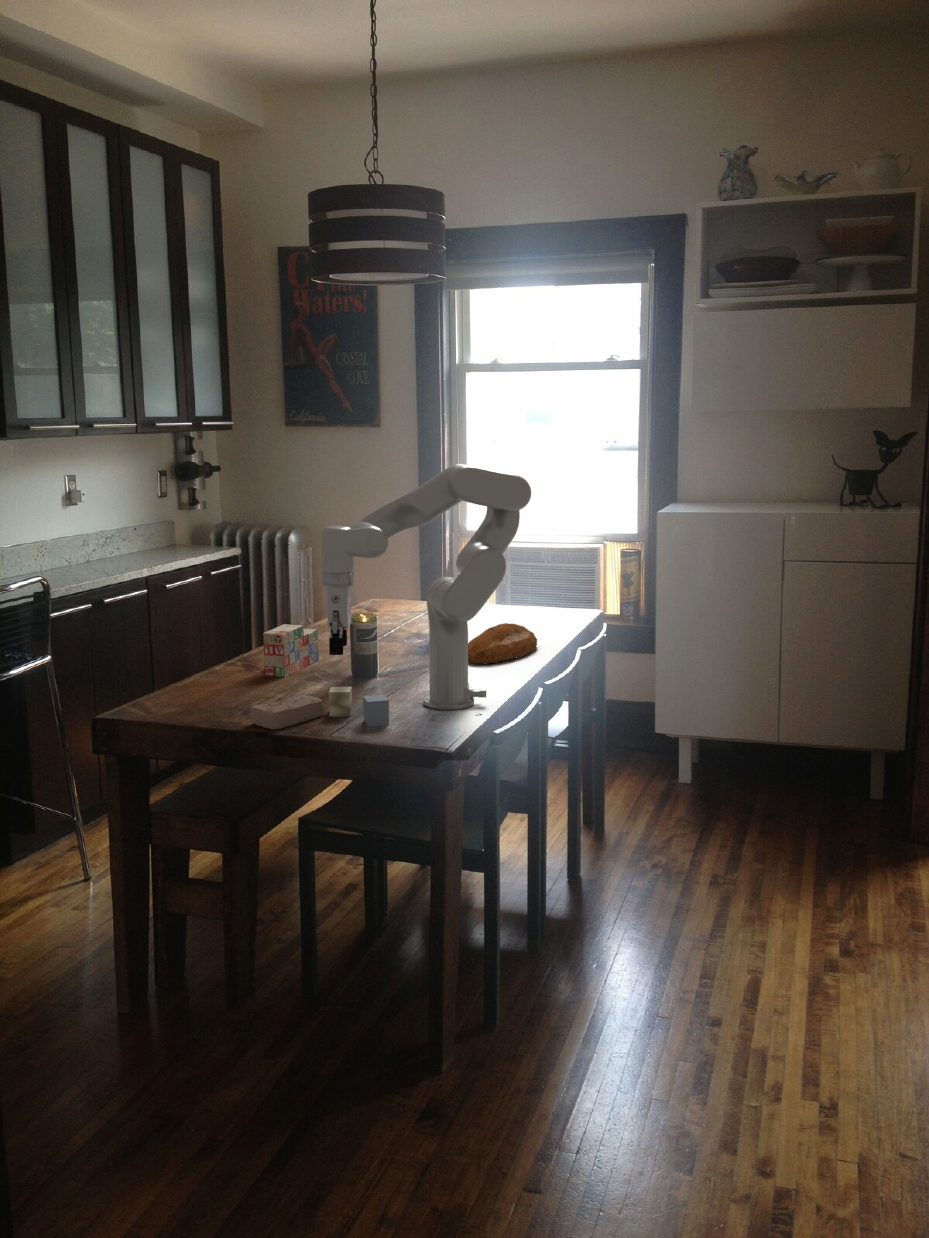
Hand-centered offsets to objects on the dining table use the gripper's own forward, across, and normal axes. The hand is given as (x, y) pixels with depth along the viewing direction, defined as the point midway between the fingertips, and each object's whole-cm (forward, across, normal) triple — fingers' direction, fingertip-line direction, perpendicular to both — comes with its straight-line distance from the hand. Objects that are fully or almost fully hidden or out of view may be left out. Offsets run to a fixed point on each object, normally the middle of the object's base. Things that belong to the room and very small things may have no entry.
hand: (338, 650), depth 261 cm
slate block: (+16, -8, -9) cm, 20 cm away
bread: (+16, +63, -42) cm, 78 cm away
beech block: (+16, 0, 0) cm, 16 cm away
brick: (+16, -5, +12) cm, 21 cm away
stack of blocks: (+16, +46, +17) cm, 52 cm away
